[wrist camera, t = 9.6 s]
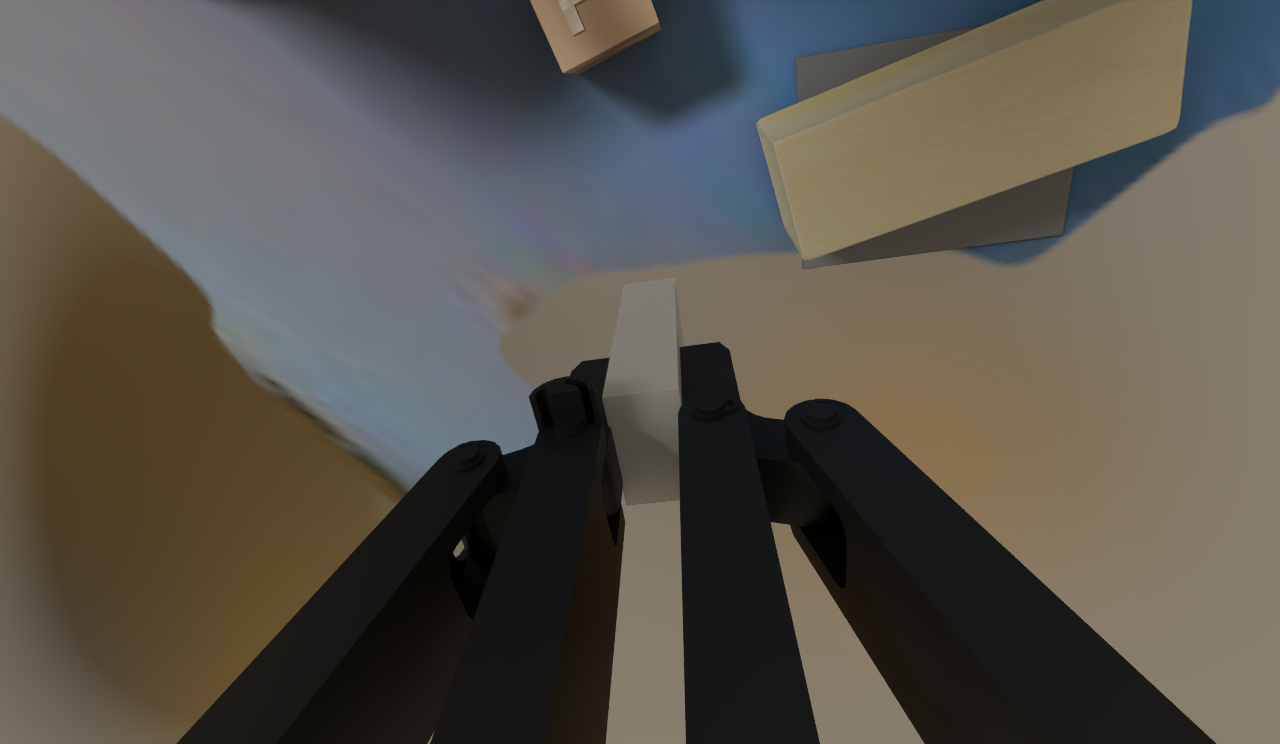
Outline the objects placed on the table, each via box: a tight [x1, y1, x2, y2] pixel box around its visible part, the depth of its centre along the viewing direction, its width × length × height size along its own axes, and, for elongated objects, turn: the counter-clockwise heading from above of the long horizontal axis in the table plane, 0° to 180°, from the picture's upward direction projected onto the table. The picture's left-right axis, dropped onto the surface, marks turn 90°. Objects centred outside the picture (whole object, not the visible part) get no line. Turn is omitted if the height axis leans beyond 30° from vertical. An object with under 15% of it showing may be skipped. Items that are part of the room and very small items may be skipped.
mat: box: [796, 25, 1074, 269], centre depth 39 cm, size 18×14×1 cm
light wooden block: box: [757, 0, 1193, 261], centre depth 35 cm, size 8×7×21 cm
